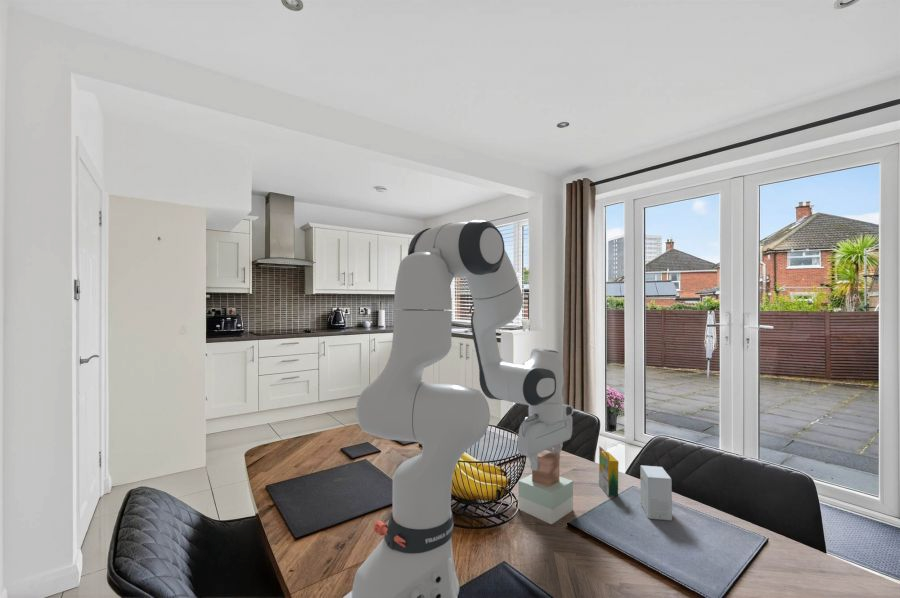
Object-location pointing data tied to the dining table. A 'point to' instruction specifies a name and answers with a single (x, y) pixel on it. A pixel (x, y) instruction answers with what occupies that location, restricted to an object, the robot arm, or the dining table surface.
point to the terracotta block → (547, 469)
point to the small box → (656, 492)
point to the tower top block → (546, 492)
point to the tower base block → (545, 509)
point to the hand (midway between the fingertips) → (545, 464)
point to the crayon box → (608, 473)
